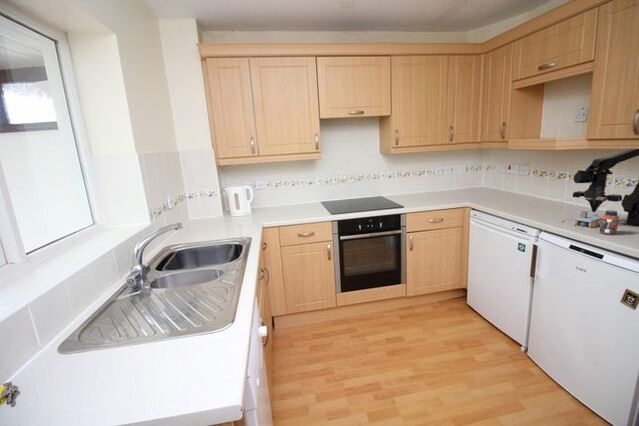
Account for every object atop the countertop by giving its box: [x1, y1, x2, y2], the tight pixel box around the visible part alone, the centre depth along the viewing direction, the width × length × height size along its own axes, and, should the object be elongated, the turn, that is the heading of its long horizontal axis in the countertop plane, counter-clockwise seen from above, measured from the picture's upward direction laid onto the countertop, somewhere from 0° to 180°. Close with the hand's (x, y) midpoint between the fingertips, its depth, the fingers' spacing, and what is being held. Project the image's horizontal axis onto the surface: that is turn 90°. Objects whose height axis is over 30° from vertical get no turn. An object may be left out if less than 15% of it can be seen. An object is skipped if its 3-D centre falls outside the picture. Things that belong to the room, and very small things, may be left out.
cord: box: [580, 221, 589, 227], centre depth 160 cm, size 7×3×3 cm, turn 115°
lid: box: [575, 210, 602, 222], centre depth 159 cm, size 14×6×4 cm, turn 117°
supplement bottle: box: [599, 209, 620, 236], centre depth 144 cm, size 6×6×11 cm
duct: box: [574, 219, 602, 229], centre depth 160 cm, size 13×7×3 cm, turn 117°
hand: (593, 212), depth 160 cm, fingers closed
